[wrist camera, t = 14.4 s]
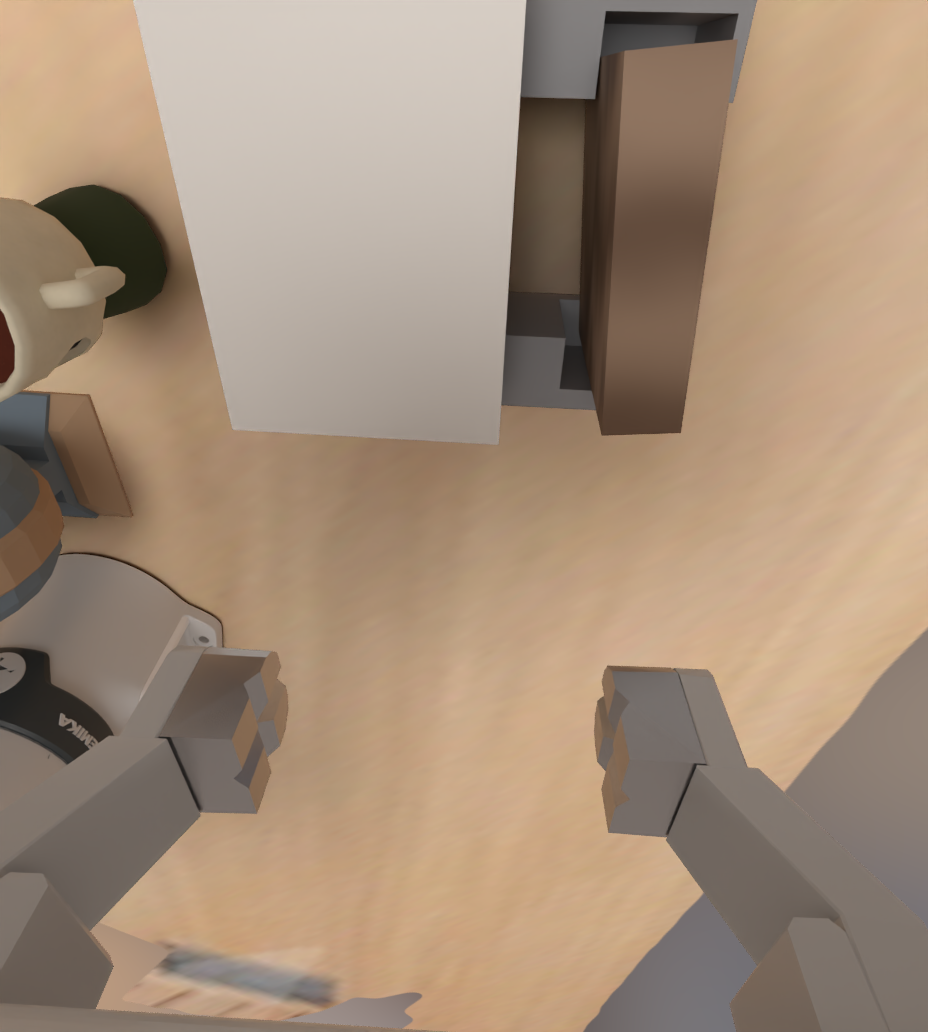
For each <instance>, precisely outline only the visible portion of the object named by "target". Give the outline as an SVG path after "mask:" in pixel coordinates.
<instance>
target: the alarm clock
mask: <svg viewBox="0 0 928 1032" xmlns="http://www.w3.org/2000/svg"><path fill="white" fill-rule="evenodd" d="M99 515H109V516H122V517H133V513H132V510H131V507H130V505H129V502H128V499H127V496H126V494H125V491H124V488H123V485H122V483H121V480H120V477H119V474H118V472H117V469H116V466H115V463H114V461H113V458H112V455H111V452H110V449H109V447H108V444H107V441H106V438H105V436H104V433H103V430H102V427H101V425H100V422H99V419H98V416H97V414H96V411H95V408H94V405H93V403H92V400H91V397H90V395H86V394H71V393H55V392H39V391H24V390H22V391H20V392H19V393H17V394H15V395H13V396H11V397H10V398H8V399H6V400H4V401H2V402H0V622H1V621H3V620H4V619H6V618H7V617H9V616H10V615H12V614H14V613H15V612H17V611H18V610H19V609H21V608H22V607H23V606H24V605H25V604H26V603H27V602H29V601H30V600H31V599H32V598H33V597H34V596H35V595H37V594H38V593H39V592H40V590H41V589H42V588H43V586H44V585H45V584H46V582H47V581H48V580H49V578H50V577H51V575H52V573H53V571H54V568H55V566H56V563H57V560H58V557H59V554H60V551H61V548H62V544H61V538H60V537H61V534H62V531H63V528H64V523H63V518H62V516H73V517H86V518H97V517H98V516H99Z"/></svg>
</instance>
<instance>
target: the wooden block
mask: <svg viewBox="0 0 928 1032" xmlns="http://www.w3.org/2000/svg"><path fill="white" fill-rule="evenodd" d="M737 41H738V39H735V40H725V41H715V42H706V43H696V44H686V45H676V46H666V47H657V48H647V49H637V50H627V51H622V52H618V53H614V54H611V55H607V56H603V57H600V62H599V70H598V78H597V86H596V94H595V99H586V111H585V143H584V176H583V208H582V241H581V273H580V305H579V335H580V340H581V344H582V349H583V353H584V358H585V362H586V367H587V371H588V376H589V380H590V385H591V389H592V394H593V398H594V403H595V407H596V412H597V416H598V421H599V425H600V430H601V434H602V435H632V434H662V433H681V427H682V420H683V413H684V407H685V400H686V393H687V386H688V379H689V372H690V365H691V358H692V351H693V345H694V338H695V331H696V324H697V317H698V310H699V303H700V296H701V289H702V283H703V276H704V269H705V262H706V255H707V248H708V241H709V234H710V227H711V220H712V214H713V207H714V200H715V193H716V186H717V179H718V172H719V165H720V158H721V152H722V145H723V138H724V131H725V124H726V117H727V110H728V103H729V96H730V90H731V83H732V76H733V69H734V62H735V55H736V48H737Z"/></svg>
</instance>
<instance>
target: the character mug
mask: <svg viewBox="0 0 928 1032" xmlns="http://www.w3.org/2000/svg"><path fill="white" fill-rule="evenodd" d="M166 272H167V267H166V264H165V260H164V256H163V253H162V249H161V245H160V243H159V241H158V239H157V238H156V236H155V234H154V233H153V231H152V229H151V228H150V226H149V224H148V223H147V221H146V219H145V218H144V216H143V215H142V214H140V213H139V212H138V211H137V210H136V209H135V208H134V207H133V206H132V205H131V204H130V203H129V202H128V201H126V200H125V199H124V198H123V197H122V196H121V195H119V194H117V193H114V192H112V191H109V190H106V189H104V188H101V187H99V186H96V185H88V186H81V187H74V188H69V189H66V190H64V191H62V192H59V193H57V194H55V195H53V196H50V197H48V198H46V199H45V200H43V201H41V202H39V203H38V204H36V205H34V206H33V205H31V204H29V203H27V202H25V201H23V200H16V199H8V198H0V402H2V401H4V400H6V399H8V398H10V397H11V396H13V395H15V394H17V393H19V392H20V391H22V390H24V389H25V388H27V387H29V386H30V385H32V384H33V383H35V382H37V381H39V380H41V379H44V378H46V377H47V376H48V375H49V374H50V373H51V372H52V371H53V369H54V368H56V367H58V366H60V365H62V364H64V363H66V362H68V361H70V360H72V359H73V358H75V357H78V356H80V355H82V354H85V353H86V352H88V351H89V350H90V348H91V347H92V346H93V345H94V344H95V342H96V341H97V340H98V339H99V337H100V336H101V334H102V326H103V319H104V318H108V317H111V316H115V315H118V314H122V313H125V312H128V311H131V310H133V309H136V308H138V307H141V306H144V305H146V304H147V303H149V302H150V301H151V300H152V299H153V298H154V297H155V296H156V295H158V294H159V293H160V292H161V290H162V286H163V283H164V279H165V276H166Z"/></svg>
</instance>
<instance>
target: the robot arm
mask: <svg viewBox="0 0 928 1032" xmlns="http://www.w3.org/2000/svg"><path fill="white" fill-rule="evenodd" d="M280 668H281V665H280V661H279V658H278V654H277V652H273V651H261V650H247V649H234V648H223V644H222V626H221V624H220V622H219V621H218V620H217V619H216V618H214V617H213V616H211V615H210V614H208V613H206V612H204V611H202V610H200V609H197V608H195V607H193V606H191V605H189V604H187V603H186V602H184V601H183V600H181V599H180V598H179V597H178V596H177V595H175V594H174V593H173V592H172V591H171V590H169V589H168V588H167V587H166V586H164V585H163V584H162V583H160V582H159V581H157V580H156V579H154V578H153V577H151V576H149V575H148V574H146V573H144V572H142V571H140V570H138V569H136V568H134V567H132V566H129V565H127V564H124V563H121V562H118V561H115V560H112V559H108V558H104V557H99V556H94V555H85V554H67V555H60V556H59V557H58V560H57V563H56V566H55V568H54V571H53V573H52V575H51V577H50V578H49V580H48V581H47V582H46V584H45V585H44V586H43V588H42V589H41V590H40V592H39V593H38V594H37V595H35V596H34V597H33V598H32V599H31V600H30V601H29V602H27V603H26V604H25V605H24V606H23V607H22V608H21V609H19V610H18V611H17V612H15V613H14V614H12V615H10V616H9V617H7V618H6V619H4V620H3V621H1V622H0V1032H445V1031H429V1030H413V1029H398V1028H382V1027H366V1026H351V1025H335V1024H319V1023H303V1022H288V1021H273V1020H257V1019H241V1018H226V1017H210V1016H194V1015H178V1014H163V1013H146V1012H131V1011H116V1010H101V1009H96V1007H97V1004H98V1002H99V1000H100V997H101V995H102V993H103V990H104V988H105V985H106V983H107V981H108V978H109V976H110V974H111V972H112V969H113V967H114V966H113V963H112V960H111V957H110V955H109V954H108V952H107V951H106V950H105V949H104V948H103V946H102V945H101V944H100V943H99V941H98V940H97V939H96V938H95V936H94V935H93V934H92V933H91V932H90V930H91V929H92V928H93V927H94V926H95V925H96V924H97V923H98V922H99V921H100V920H101V919H102V918H103V917H104V916H105V915H106V914H107V913H108V912H109V911H110V910H111V908H112V907H113V906H114V905H115V904H116V903H117V902H118V901H119V900H120V899H121V898H122V897H123V896H124V895H125V894H126V893H127V892H128V891H129V890H130V889H131V888H132V887H133V886H134V885H135V884H136V882H137V881H138V880H139V879H140V878H141V877H142V876H143V875H144V874H145V873H146V872H147V871H148V870H149V869H150V868H151V867H152V866H153V865H154V864H155V863H156V862H157V861H158V860H159V859H160V858H161V857H162V855H163V854H164V853H165V852H166V851H167V850H168V849H169V848H170V847H171V846H172V845H173V844H174V843H175V842H176V841H177V840H178V839H179V838H180V837H181V836H182V835H183V834H184V833H185V832H186V831H187V829H188V828H189V827H190V826H191V825H192V824H193V823H194V822H195V821H196V820H197V819H198V818H199V817H200V812H211V813H251V814H257V812H258V809H259V807H260V804H261V801H262V798H263V795H264V792H265V789H266V786H267V783H268V780H269V777H270V774H271V769H270V766H269V762H268V759H267V757H268V756H269V755H270V754H271V753H272V752H273V751H275V750H276V749H277V748H278V747H279V746H280V744H281V741H282V738H283V735H284V732H285V728H286V722H287V715H288V695H287V690H286V686H285V685H284V684H283V683H282V682H280V681H279V680H278V679H277V677H278V674H279V671H280ZM602 686H603V692H604V696H603V697H602V698H600V699H599V700H598V701H597V706H596V712H595V725H594V736H595V748H596V756H597V762H598V763H599V764H600V765H601V766H602V768H603V769H604V770H605V771H606V773H605V777H604V781H603V785H602V789H601V790H602V796H603V802H604V809H605V815H606V821H607V828H608V833H620V834H632V835H644V836H657V837H667V839H666V841H667V842H668V844H669V845H670V846H671V848H672V849H673V850H674V852H675V853H676V855H677V856H678V857H679V859H680V860H681V861H682V863H683V864H684V866H685V867H686V868H687V870H688V871H689V872H690V874H691V875H692V877H693V878H694V879H695V881H696V882H697V883H698V885H699V886H700V888H701V889H702V890H703V892H704V893H705V894H706V896H707V897H708V898H709V900H710V901H711V903H712V904H713V905H714V907H715V908H716V909H717V911H718V912H719V914H720V915H721V916H722V918H723V919H724V921H725V922H726V923H727V925H728V926H729V927H730V929H731V930H732V932H733V933H734V934H735V936H736V937H737V938H738V940H739V941H740V943H741V944H742V945H743V947H744V948H745V949H746V951H747V952H748V953H749V955H750V956H751V958H752V959H753V960H754V962H755V963H756V965H757V967H756V969H755V970H754V971H753V973H752V974H751V975H750V977H749V978H748V979H747V981H746V982H745V983H744V985H743V986H742V987H741V989H740V990H739V991H738V993H737V994H736V996H735V997H734V998H733V1000H732V1001H731V1003H730V1008H731V1012H732V1016H733V1020H734V1024H735V1028H736V1032H928V929H927V928H926V926H925V924H924V922H923V921H922V920H921V919H920V918H919V917H918V916H917V915H916V914H915V913H913V912H912V911H911V910H910V909H909V908H908V907H907V906H906V905H905V904H904V903H903V902H902V901H901V900H899V899H898V898H897V897H896V896H895V895H894V894H893V893H892V892H891V891H890V890H889V889H888V888H886V886H884V885H883V884H882V883H881V882H880V881H879V880H878V879H877V878H876V877H875V876H874V875H873V874H871V873H870V872H869V871H868V870H867V869H866V868H865V867H864V866H863V865H862V864H861V863H860V862H858V861H857V860H856V859H855V858H854V857H853V856H852V855H851V854H850V853H849V852H848V851H847V850H846V849H845V848H843V846H841V845H840V844H839V843H838V842H837V841H836V840H835V839H834V838H833V837H832V836H831V835H830V834H828V833H827V832H826V831H825V830H824V829H823V828H822V827H821V826H820V825H819V824H818V823H817V822H815V820H813V819H812V818H811V817H810V816H809V815H808V814H807V813H806V812H805V811H804V810H803V809H802V808H801V807H799V806H798V805H797V804H796V803H795V802H794V801H793V800H792V799H791V798H790V797H789V796H788V795H787V794H785V793H784V792H783V791H782V790H781V789H780V788H779V787H778V786H777V785H776V784H775V783H774V782H773V781H772V780H770V779H769V778H768V777H767V776H766V775H765V774H764V773H763V772H762V771H761V770H760V769H759V768H748V767H747V764H746V761H745V759H744V756H743V754H742V751H741V748H740V746H739V743H738V740H737V738H736V735H735V732H734V730H733V727H732V725H731V722H730V719H729V717H728V714H727V711H726V709H725V706H724V703H723V701H722V698H721V696H720V693H719V690H718V688H717V685H716V682H715V680H714V677H713V675H712V674H711V673H710V672H709V671H708V670H703V669H680V668H674V669H672V668H666V667H636V666H607V667H606V669H605V670H604V674H603V679H602Z"/></svg>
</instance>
